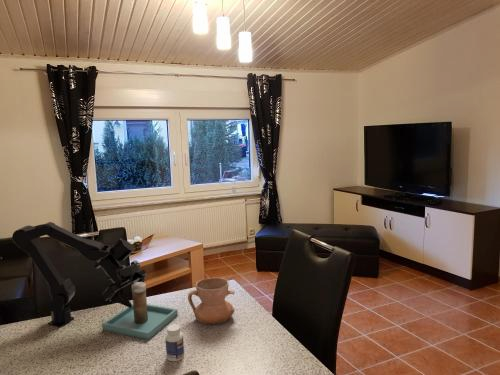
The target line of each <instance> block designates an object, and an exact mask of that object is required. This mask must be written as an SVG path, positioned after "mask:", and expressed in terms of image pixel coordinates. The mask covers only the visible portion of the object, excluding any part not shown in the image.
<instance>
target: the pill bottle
mask: <svg viewBox="0 0 500 375" xmlns="http://www.w3.org/2000/svg"><path fill="white" fill-rule="evenodd" d="M166 329H167V330H166V332H167V333H166V335H165V337H164V338H165V340H164V341H165V351H166V352H165V354H166V359H167V360H168V361H170V362H178V361H180V360H182V359H183V358H184V357H185V346H184V344H185V343H184V334H183V332H182V331H181V326H180V324H170V325H169V326H167V328H166Z"/></svg>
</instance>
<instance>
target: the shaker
mask: <svg viewBox="0 0 500 375" xmlns="http://www.w3.org/2000/svg"><path fill="white" fill-rule="evenodd" d="M130 285H131V286H130V288H131V293H132V294H131V295H132V296H131V297H132V304H133V309H134V321H135V323H136V324H143V323H145V322H147V321H148V313H147V304H148V302H147V297H146V290H147V284H146V282H145V281H144V282H137V283H134V284H130Z"/></svg>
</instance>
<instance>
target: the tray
mask: <svg viewBox="0 0 500 375" xmlns="http://www.w3.org/2000/svg"><path fill="white" fill-rule="evenodd" d="M131 305H132V307H131V308H129V307H127V306H126V308H123V310H121V311H120V312H118V313H116V314H115V315H113V316H112V317H111V318H109V319H108V320H106V321H104V322H103V323H101V328H102V331H103V332H104V331H105V332H107V333H113V334H117V335H123V336H126V337H127V336H128V337H132V338H137V339H141V340H146V341H150V340H151V339H152V338H153V337H154V336H156V334H158V333H159V332H161V330H163V329H164V328H165V327H166V326H167V325H169V324H170V323H171V322H172V321H173V320H174V319H176V318H177V317H178V315H179V314H178V313H179V312H178V309H177V308H171V307H167V306H166V307H165V306H159V305H154V304H148V303H147V313H148V321H147V322H145V323H143V324H136V323H135V321H134V309H133V303H131Z"/></svg>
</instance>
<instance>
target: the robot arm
mask: <svg viewBox="0 0 500 375" xmlns="http://www.w3.org/2000/svg"><path fill="white" fill-rule="evenodd" d="M43 236H48V237H50V238H52V239H53V240H56V241H58V242H60V243H62V244H64V245H66V246H69V247H71V248H72V249H75V250H76V251H77V252H78V253H79V254H80V255H81V256H82V257H84V258H85V259H87V260H88V261H89V262H94V267H93V268H94V270H95V269H100V268H101V269H102V271H104V272H105V274H106V275H107V278H106V279H107V280H108V281H110V280H111V281H112V284H110V285H108V286H107V287H106V288H105V290H104V291H103V292H102V294H101V295H102V298H103V300H104V301H105V302H106V301H109V302H111V301H112V302H114V303H118V304H121V305H122V306H125V307H126V308H127V307H129V308H131V307H132V305H131V304H132V303H131V301H130V300H129V299H128V298H127V296H126V295H125V294H124V289H123V288H125V287H127V286H128V285H132V284H134V283H137V282H144V283H145V278H146V276H147V274H148V273H147V271H146V270H145V269H144V268H143V269H142V268H141V264H140V262H139V261H138V260H136V259H135V260H133V261H131V262H130V265H128V266H126V265H125V264H123V265H121V264H120V261H121V262H123V261H125V260H126V259H127V258H128V257H129V256H130V255H131V254H133V252H134V251H135V248H134V246H133V244H132V243H131V242H130V241H127V240H125V239H123V238H119V239H118V240H117V241H116V242H115V244H113V245H109V244H104V243H103V242H100V241H98V240H94V239H88V238H83V237H81V236H79V235H77V234H75V233H73V232H71V231H69V230H67V229H66V228H63V227H61V226H59V225H57V224H56V223H55V222H52V221H49V222H46V223H42V224H39V225H38V224H37V225H35V226H33V225H25V226H22V227H21V228H18V229H17V230H15V231H13V234H12V236H11V239H12V242H13V243H14V244H15V246H17V247H18V248H19V249H20V250H22V251H24V252H25V253H27V255H28V256H29V257H30V259H31V261H33V262H32V263H34V265H35V266H36V268H37V269H38V271H39V272H40V274H41V275H42V277H43V279H44V281H45V282H46V283H47V285H48V287H49V288H48V289H49V295H50V297H51V301H50V302H49V304H47V305H46V307H45V308H46V309H47V312H48V313H50V318H51V320H50V321H49V322H48V325H50V326H54V327H55V326H56V327H62V326H64V325H66V324H68V323H69V322H70V323H71V321H73V320H74V319H75V317H74V316H72V314H71V309H70V305H69V303H70V301H71V300H72V298H73V297H74V296H75V293H76V285H74V283H73V282H72V279H71V278H70V277H69V278H67V279H65V278H63V277H62V276H61V275H60V272H59V271H58V269H57V268H56V267H55V265H54V264H53V262H52V261H51V259H50V257H49V256H48V254H47V253H46V251H45V250H44V248H43V247H42V244H41V237H43ZM139 268H140V269H139ZM147 297H149V293H148V290H147V289H146V298H147Z"/></svg>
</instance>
